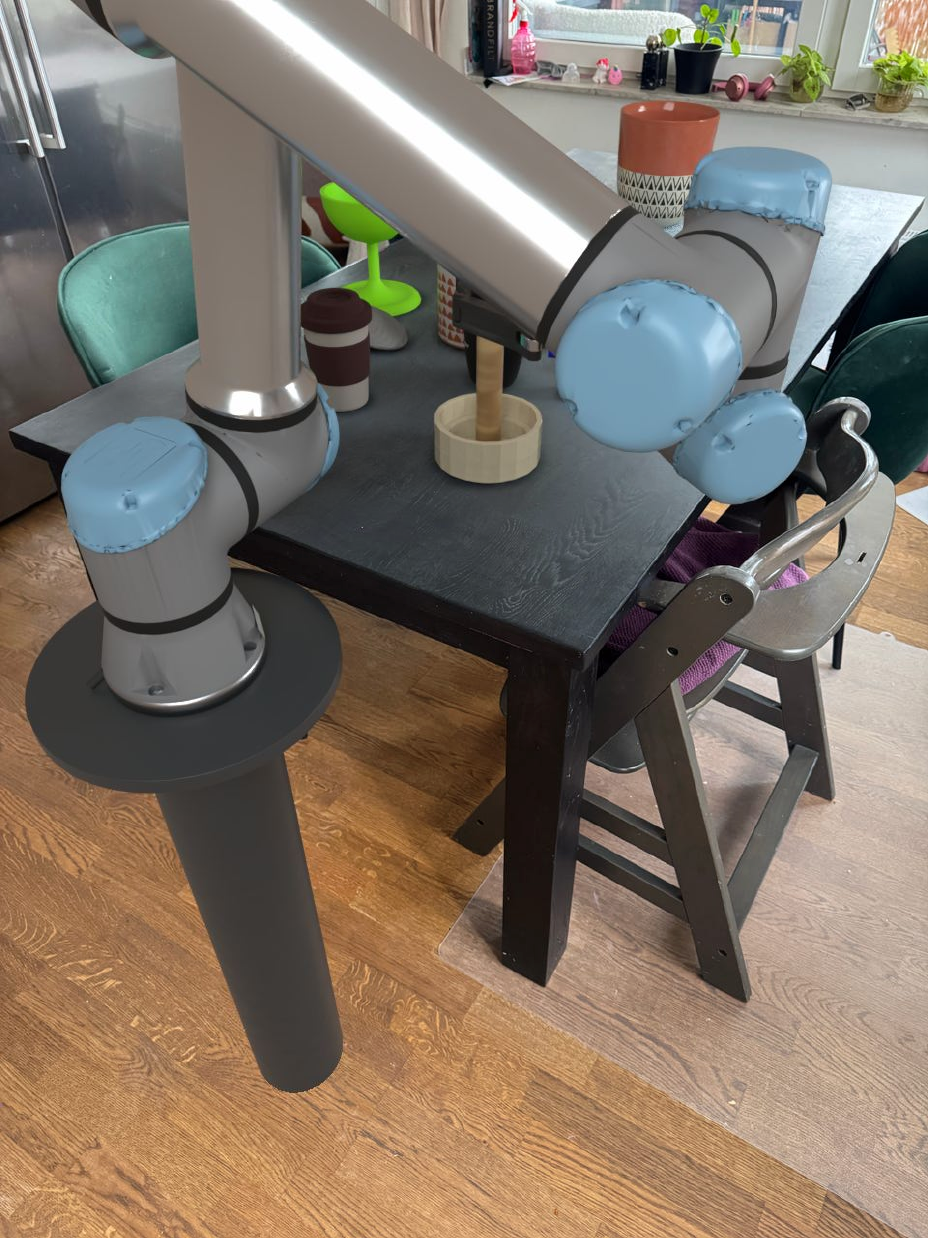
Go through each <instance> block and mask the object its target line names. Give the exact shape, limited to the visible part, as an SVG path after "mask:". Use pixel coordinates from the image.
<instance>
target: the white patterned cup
mask: <svg viewBox="0 0 928 1238" xmlns="http://www.w3.org/2000/svg"><path fill="white" fill-rule="evenodd" d="M436 287H437V288H436V289H437V291H436V292H437V293H436V294H437V295H436V296H437V297H436V298H437V299H436V300H437V333H438V337H439V339H440V340H441V341H442V342H443V343H445V344H446V345H448V346H450V347H453V348H455V349H459V350H462V351H465V345H464V331H463V330H461V329H459V328H456V327H454V326H453V325H452V295H453V294H455V293H458V292H457V291H456V277H454V276H453V275H452V274H450V273H449V272H448V271H447V270H445V269H444V268H443V267H441V266H440V265H439V264H438V263H436Z"/></svg>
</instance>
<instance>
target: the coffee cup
mask: <svg viewBox="0 0 928 1238" xmlns="http://www.w3.org/2000/svg"><path fill="white" fill-rule="evenodd" d="M371 321H372V307H371V305H370V303H369V302H367V301H366V300H364V299H361V298H360V297H359V295H358V293H356V292H355V291H353V290H350V289H346V288H341V287H326V288H320V289H317V290H315V291H313V292H311V293H309V294H308V296H307V297H306V300H305V301H304V302H301V329H303V333H304V334H303V341H304V347H305V351H306V357H307V361H308V367H309V368H310V369H311V370H312V371H313V372H314V374H315V376H316V379H317V382H318V383H319V385H320V386H321V387H322V388H323V389H324V391H325V392H326V394H327V395H328V397H329V399H328V400H327V401H326V402H327V404H328V406H329V407H331V408H334V410H335V412H336V413H347V412H352V411H356V410H358V409H360V408H362V407H364V406H365V405H366V404H367V403H368V401H369V397H370V393H369V392H370V391H369V389H370V387H369V385H370V381H369V380H370V379H369V378H370V377H369V376H370V374H371V347H370V332H369V330H368V324H369V323H370V322H371Z"/></svg>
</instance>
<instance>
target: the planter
mask: <svg viewBox="0 0 928 1238" xmlns="http://www.w3.org/2000/svg"><path fill="white" fill-rule="evenodd" d="M721 115H722V114H721V111H720V110H719V109H717V108H715V107H713V106H710V105H706V104H702V103H697V102H691V101H690V102H689V101H678V100H646V101H645V100H644V101H637V102H632V103H631V102H630V103H628V104H624V105H623V106H622V107H620V113H619V124H618V125H619V127H618V128H619V129H618V144H617V161H616V162H617V164H616V191H617V195H619V196H620V197H621V198H623V199H624V200H625V201H627V202H628V203H629V204H630V205H631V206H632V207H633V208H635V209H636V210H637V211H639V212H640V213H641V214H643V215H644V216H645V217H647V218H648V219H649V220H651V221H652V222H653V223H655V224H656V225H657V226H659V227H660V228H661V229H664V228H669V227H673V226H675V225H677V224H679V223H680V222H682V221H684V210H683V204H684V203H685V202H686V200H687V198H688V194H689V190H690V185H691V181H692V176H693V172H694V169H695V167H696V164H697V163H698V162H699V161H700V160H701V159H702V158H703V157H704V156H705V155H707V154H709V153H711V152H713V151H714V146H715V143H716V138H717V133H718V129H719V124H720V119H721Z"/></svg>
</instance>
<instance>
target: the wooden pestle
mask: <svg viewBox="0 0 928 1238" xmlns="http://www.w3.org/2000/svg"><path fill="white" fill-rule="evenodd" d="M503 359H504V346H502V345H499V344H497V343H494V342H492V341H489V340H487V339H484V338H482V337H479V336H477V359H476V385H475V393H476V439H475V440H476V441H483V442H485V441H502V440H501V418H502V394H503V389H504V388H503Z"/></svg>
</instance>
